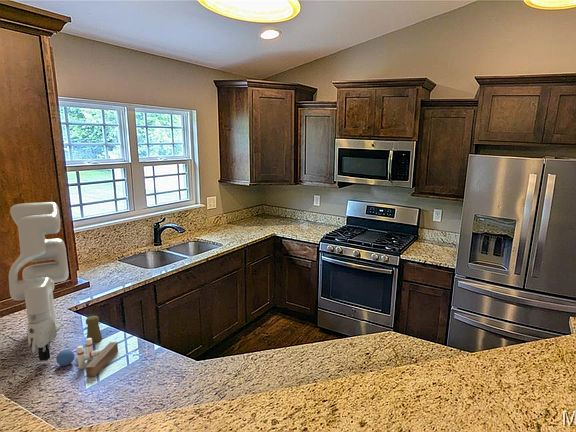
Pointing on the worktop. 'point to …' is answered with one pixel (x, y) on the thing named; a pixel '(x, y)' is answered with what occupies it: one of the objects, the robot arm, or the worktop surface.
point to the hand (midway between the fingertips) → (44, 359)
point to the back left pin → (89, 346)
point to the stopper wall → (101, 359)
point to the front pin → (89, 355)
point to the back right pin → (81, 357)
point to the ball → (65, 357)
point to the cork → (93, 329)
